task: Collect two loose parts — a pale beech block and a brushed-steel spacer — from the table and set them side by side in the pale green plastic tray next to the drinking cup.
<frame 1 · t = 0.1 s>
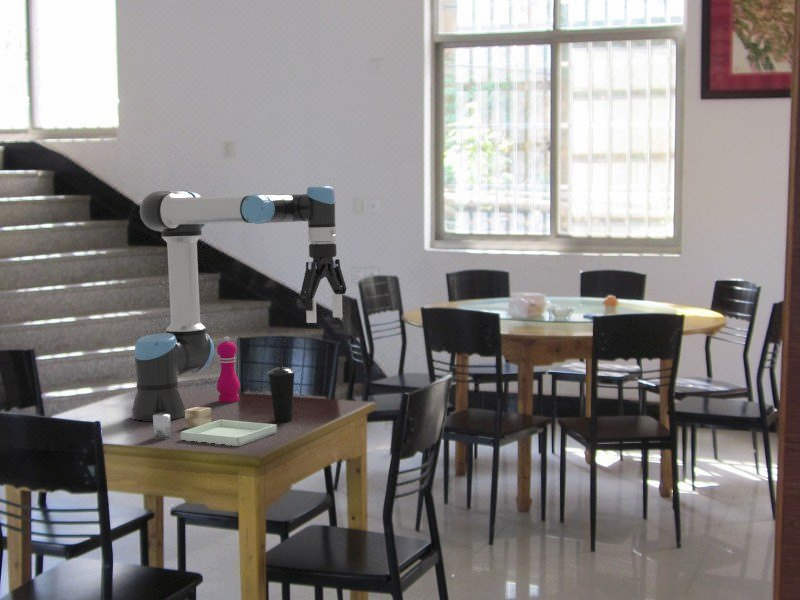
hand: (324, 320, 300), 28 cm above the table, tool pointing down, fingers open, 13 cm apart
tray: (229, 436, 284), on the table
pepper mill: (229, 401, 337), on the table
steel spacer: (162, 437, 285), on the table
drinking cup: (283, 420, 305), on the table
beech block: (198, 426, 299), on the table
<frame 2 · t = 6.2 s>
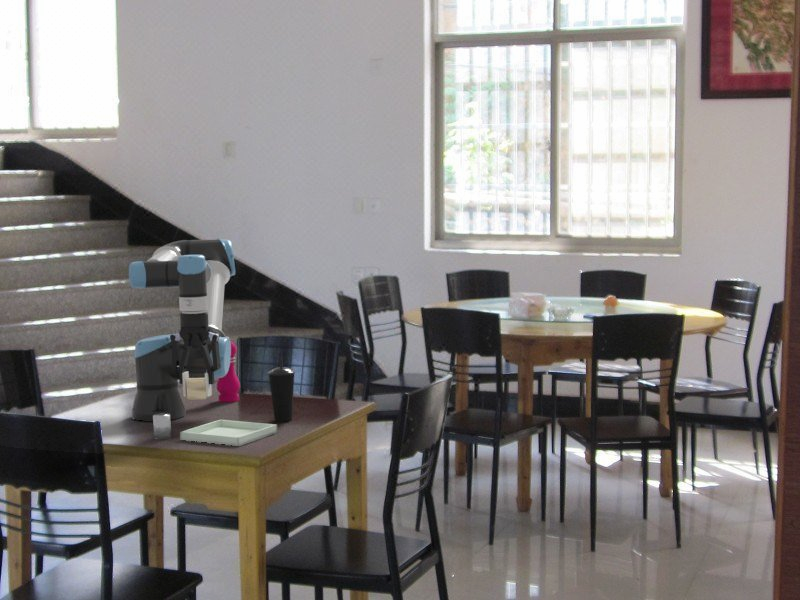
hand: (197, 395, 298), 8 cm above the table, tool pointing down, fingers closed on beech block, 6 cm apart
beech block: (197, 397, 298), point 8 cm above the table, touching gripper
everything else where it was.
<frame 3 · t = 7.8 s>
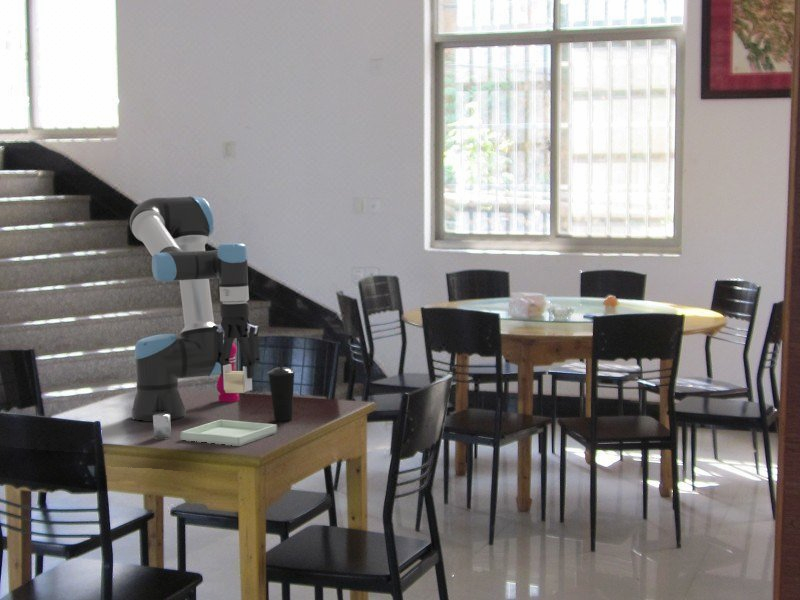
hand: (238, 389, 287), 12 cm above the table, tool pointing down, fingers closed on beech block, 6 cm apart
beech block: (237, 391, 287), point 11 cm above the table, touching gripper
everything else where it was.
when the fingers open (3 cm above the table, at t = 9.4 s): beech block drops 2 cm, resting on tray.
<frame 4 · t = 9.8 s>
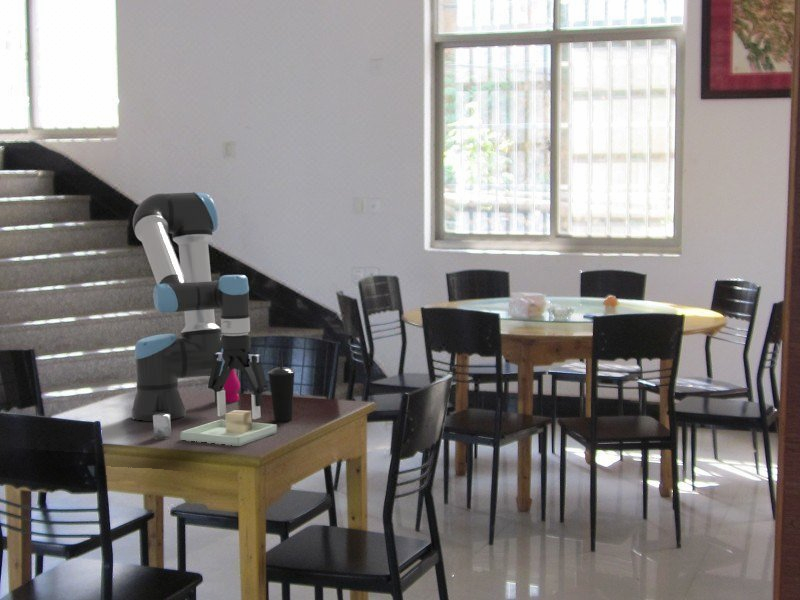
hand: (239, 416, 288), 4 cm above the table, tool pointing down, fingers open, 10 cm apart
beech block: (239, 431, 288), point 1 cm above the table, touching tray
everything else where it was.
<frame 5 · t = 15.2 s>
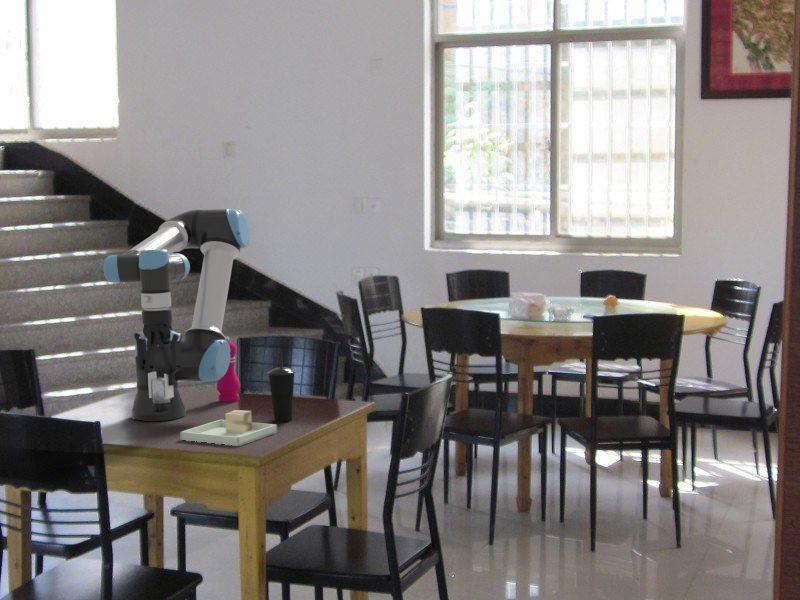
hand: (161, 397, 285), 11 cm above the table, tool pointing down, fingers closed on steel spacer, 4 cm apart
steel spacer: (161, 401, 285), point 9 cm above the table, touching gripper
everything else where it was.
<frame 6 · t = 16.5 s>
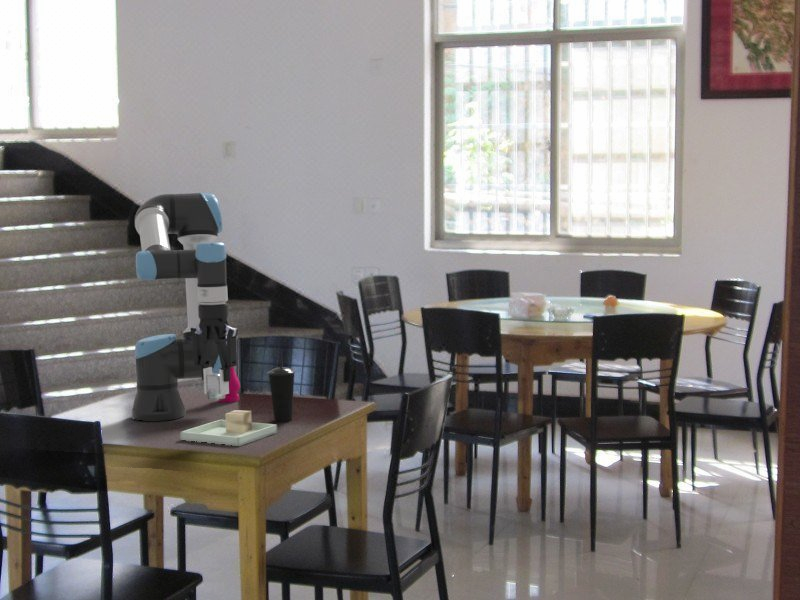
hand: (216, 393, 279), 12 cm above the table, tool pointing down, fingers closed on steel spacer, 4 cm apart
steel spacer: (216, 398, 279), point 11 cm above the table, touching gripper
everything else where it was.
when the fingers open (3 cm above the table, at t = 18.2 s): steel spacer drops 1 cm, resting on tray.
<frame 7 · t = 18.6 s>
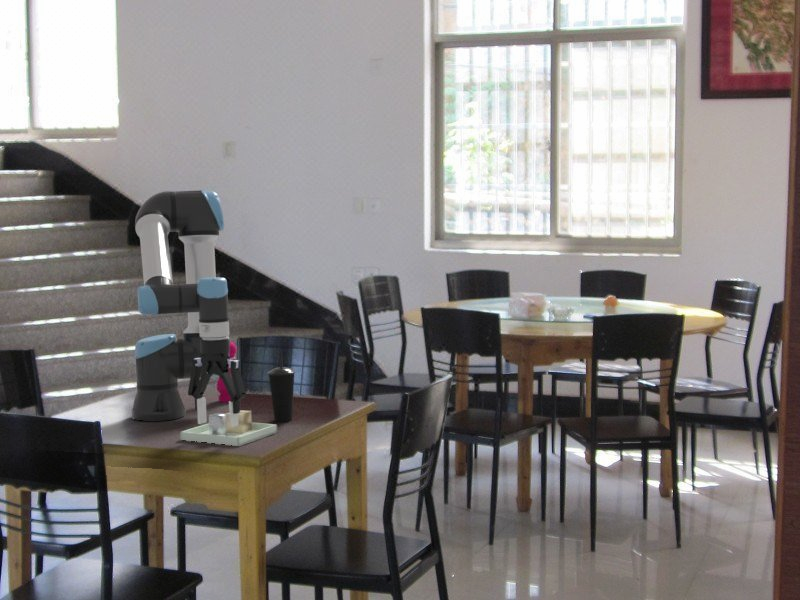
hand: (218, 424, 280), 4 cm above the table, tool pointing down, fingers open, 9 cm apart
steel spacer: (218, 437, 280), point 1 cm above the table, touching tray
everything else where it was.
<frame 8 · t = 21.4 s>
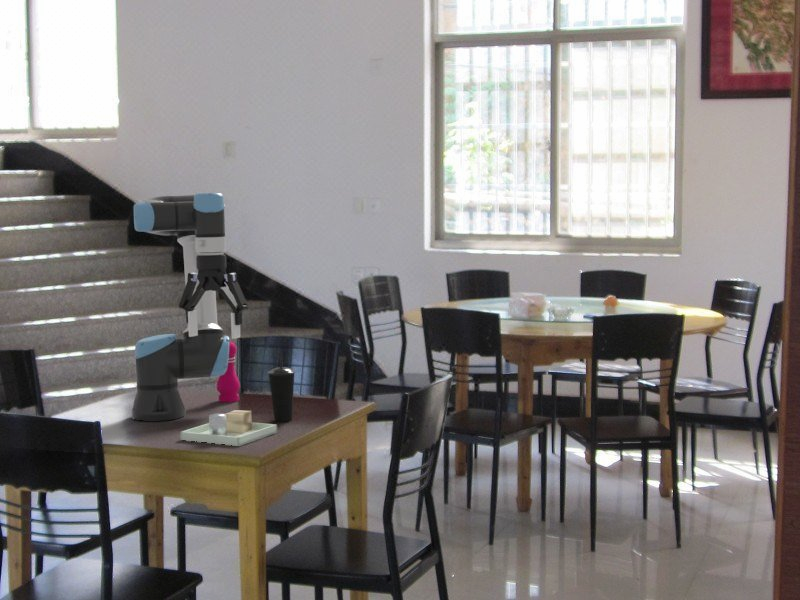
hand: (214, 337, 278), 27 cm above the table, tool pointing down, fingers open, 13 cm apart
nothing on the table moved.
at the end: beech block inside the target area on the tray (4.3 cm from its centre), point 0.6 cm above the tray's base; steel spacer inside the target area on the tray (4.6 cm from its centre), point 0.6 cm above the tray's base; steel spacer tilted 0° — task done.
